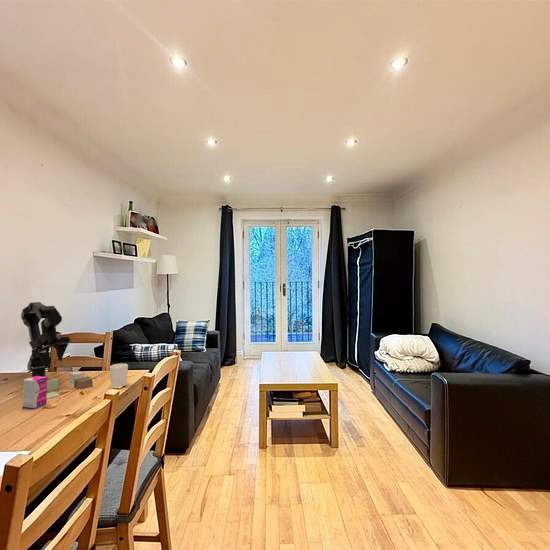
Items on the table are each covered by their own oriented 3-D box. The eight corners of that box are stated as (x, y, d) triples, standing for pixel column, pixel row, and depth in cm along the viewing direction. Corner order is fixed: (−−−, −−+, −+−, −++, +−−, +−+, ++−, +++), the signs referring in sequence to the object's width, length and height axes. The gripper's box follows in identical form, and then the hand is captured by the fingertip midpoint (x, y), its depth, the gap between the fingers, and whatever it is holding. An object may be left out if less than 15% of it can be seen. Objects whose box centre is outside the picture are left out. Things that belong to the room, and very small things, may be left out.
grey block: (69, 382, 164) (69, 373, 164) (78, 380, 168) (78, 371, 168) (75, 383, 162) (75, 374, 162) (84, 381, 167) (84, 372, 167)
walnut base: (74, 387, 157) (74, 379, 157) (87, 384, 162) (87, 376, 162) (78, 390, 153) (78, 381, 153) (92, 387, 158) (92, 378, 158)
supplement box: (34, 409, 130) (34, 380, 130) (22, 408, 131) (22, 379, 132) (47, 404, 136) (47, 376, 136) (35, 403, 137) (35, 375, 137)
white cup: (131, 384, 160) (131, 364, 160) (119, 390, 153) (119, 368, 153) (118, 383, 163) (118, 363, 163) (105, 388, 155) (105, 367, 155)
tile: (36, 396, 144) (36, 395, 144) (54, 392, 150) (54, 391, 150) (41, 400, 140) (41, 399, 140) (59, 395, 145) (59, 395, 145)
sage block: (44, 390, 153) (44, 380, 153) (55, 387, 157) (55, 378, 157) (47, 392, 150) (47, 382, 151) (59, 389, 154) (59, 380, 154)
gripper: (17, 338, 152) (21, 371, 148) (45, 324, 147) (49, 359, 142) (42, 337, 162) (46, 368, 158) (68, 324, 157) (73, 357, 153)
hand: (53, 363), depth 153 cm, fingers open, 9 cm apart
